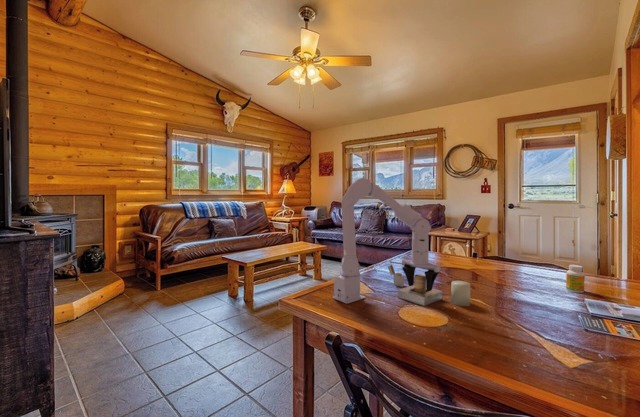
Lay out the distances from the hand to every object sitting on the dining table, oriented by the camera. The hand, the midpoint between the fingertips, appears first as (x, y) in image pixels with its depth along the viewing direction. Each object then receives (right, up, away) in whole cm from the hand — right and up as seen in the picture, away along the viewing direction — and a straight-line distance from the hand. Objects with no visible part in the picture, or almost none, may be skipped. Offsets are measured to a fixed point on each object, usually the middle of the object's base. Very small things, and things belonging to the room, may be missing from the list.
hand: (419, 287), depth 111 cm
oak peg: (0, -4, 0) cm, 4 cm away
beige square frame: (0, -4, 0) cm, 4 cm away
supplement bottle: (+62, -3, +7) cm, 62 cm away
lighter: (-4, -3, +18) cm, 18 cm away
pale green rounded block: (+13, -4, -5) cm, 14 cm away
